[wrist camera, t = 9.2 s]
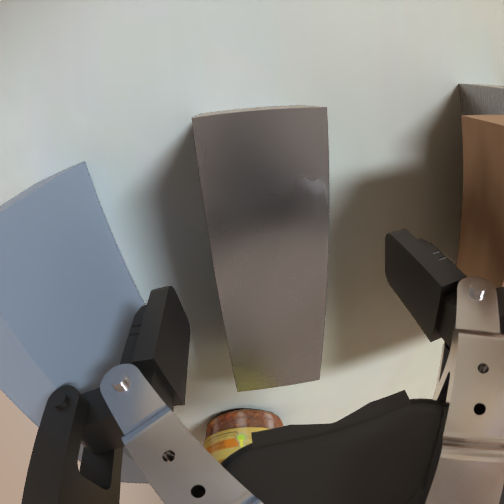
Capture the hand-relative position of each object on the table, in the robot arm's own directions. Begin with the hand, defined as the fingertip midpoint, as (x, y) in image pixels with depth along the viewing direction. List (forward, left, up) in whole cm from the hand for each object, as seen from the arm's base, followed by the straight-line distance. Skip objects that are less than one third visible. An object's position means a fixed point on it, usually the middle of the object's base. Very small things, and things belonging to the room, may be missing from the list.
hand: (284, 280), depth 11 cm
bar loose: (0, 0, -4) cm, 4 cm away
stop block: (0, -8, -4) cm, 9 cm away
